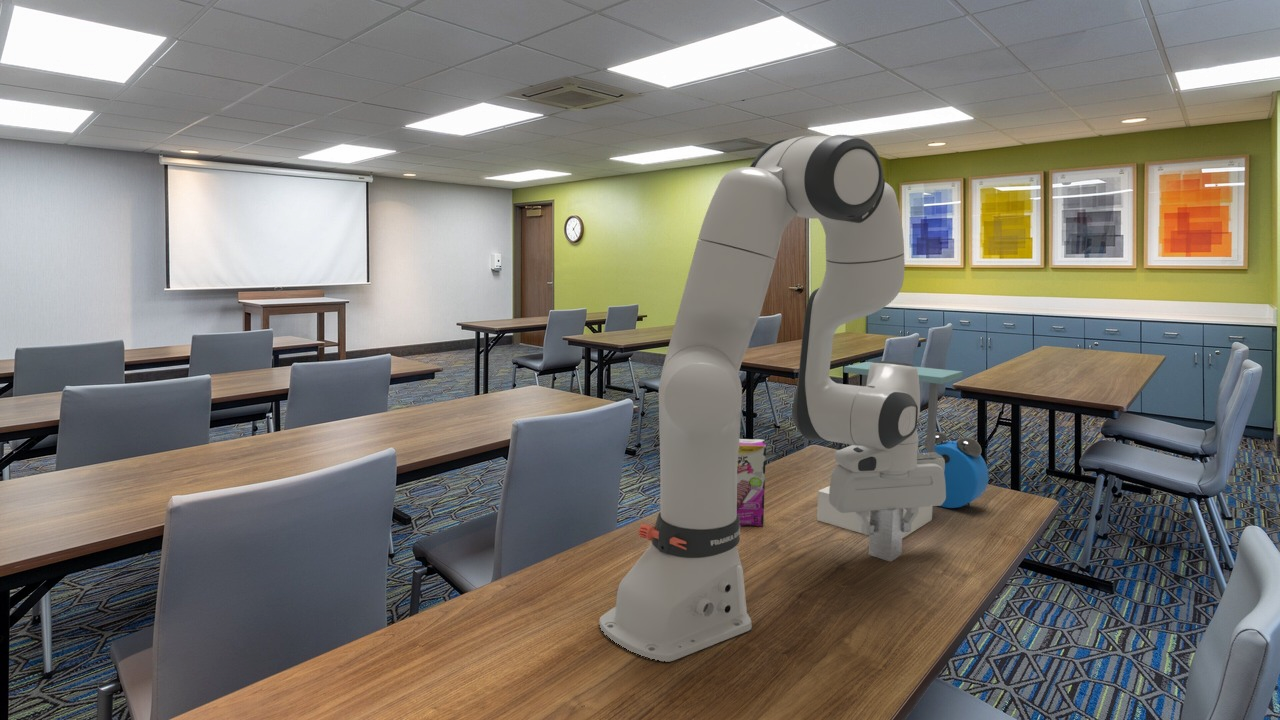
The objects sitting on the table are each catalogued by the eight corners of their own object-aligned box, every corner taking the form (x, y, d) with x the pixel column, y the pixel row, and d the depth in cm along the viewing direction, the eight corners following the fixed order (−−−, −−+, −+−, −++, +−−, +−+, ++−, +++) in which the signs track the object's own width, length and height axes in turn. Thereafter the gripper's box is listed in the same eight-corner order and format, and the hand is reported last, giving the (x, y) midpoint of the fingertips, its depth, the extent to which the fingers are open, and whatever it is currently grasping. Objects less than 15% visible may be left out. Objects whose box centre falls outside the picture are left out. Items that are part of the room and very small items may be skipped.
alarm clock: (987, 509, 140) (992, 438, 138) (974, 517, 136) (979, 443, 134) (925, 494, 150) (929, 427, 148) (911, 500, 146) (915, 432, 144)
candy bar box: (706, 525, 133) (707, 443, 130) (706, 516, 138) (707, 437, 135) (764, 527, 132) (766, 444, 129) (762, 518, 137) (764, 438, 134)
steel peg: (890, 561, 116) (893, 511, 115) (868, 554, 119) (870, 505, 118) (901, 554, 119) (903, 505, 118) (879, 548, 122) (881, 499, 121)
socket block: (905, 546, 122) (913, 385, 118) (808, 517, 137) (812, 373, 133) (954, 514, 138) (962, 371, 134) (861, 491, 152) (867, 361, 148)
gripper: (934, 446, 121) (929, 521, 123) (826, 452, 118) (823, 529, 120) (956, 456, 115) (951, 534, 117) (843, 463, 112) (840, 543, 114)
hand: (886, 532), depth 118 cm, fingers closed on steel peg, 6 cm apart
